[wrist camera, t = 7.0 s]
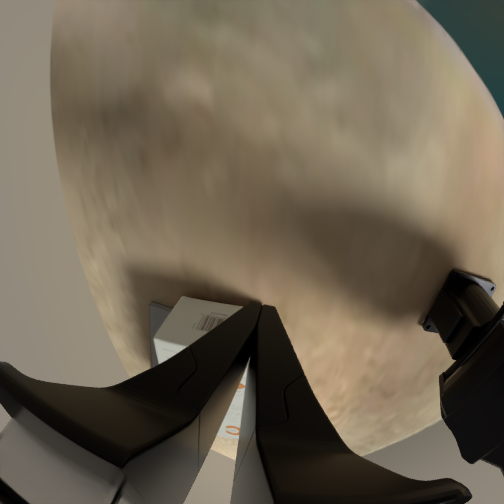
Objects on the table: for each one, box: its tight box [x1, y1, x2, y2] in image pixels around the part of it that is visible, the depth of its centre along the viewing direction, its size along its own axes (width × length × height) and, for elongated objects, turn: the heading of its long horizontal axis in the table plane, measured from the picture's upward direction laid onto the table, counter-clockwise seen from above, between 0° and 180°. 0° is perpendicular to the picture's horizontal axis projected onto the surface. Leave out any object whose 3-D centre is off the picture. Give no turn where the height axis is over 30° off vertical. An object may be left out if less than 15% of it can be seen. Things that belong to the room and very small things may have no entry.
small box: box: [153, 296, 250, 440], centre depth 24 cm, size 8×6×13 cm
